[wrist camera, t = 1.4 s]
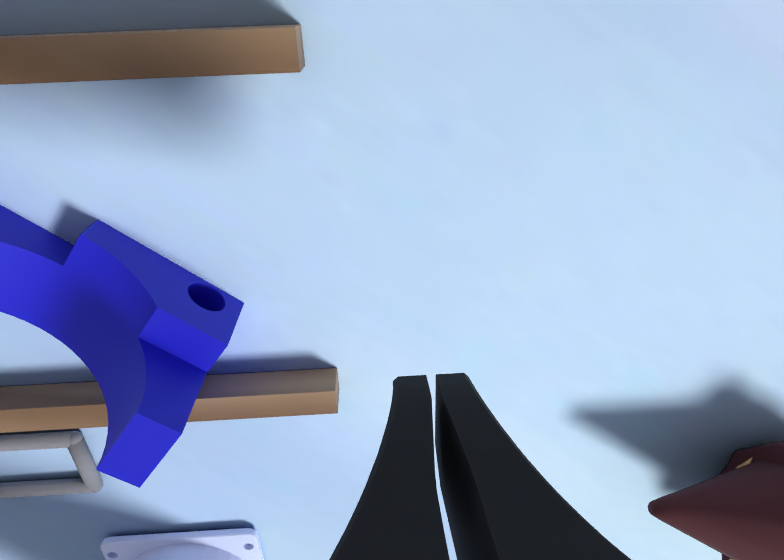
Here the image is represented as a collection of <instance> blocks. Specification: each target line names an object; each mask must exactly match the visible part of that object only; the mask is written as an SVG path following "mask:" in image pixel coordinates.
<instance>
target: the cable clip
mask: <svg viewBox="0 0 784 560" xmlns="http://www.w3.org/2000/svg"><path fill="white" fill-rule="evenodd" d="M243 304H244V303H243V302H241V301H240V300H238V299H236V298H234V297H233V296H231V295H229V294H227V293H226V292H224V291H222V290H220V289H219V288H217V287H215V286H213V285H212V284H210V283H208V282H206V281H205V280H203V279H201V278H199V277H198V276H196V275H194V274H193V273H191V272H189V271H187V270H186V269H184V268H182V267H180V266H179V265H177V264H175V263H173V262H172V261H170V260H168V259H166V258H165V257H163V256H161V255H159V254H158V253H156V252H154V251H152V250H151V249H149V248H147V247H145V246H144V245H142V244H140V243H138V242H137V241H135V240H133V239H131V238H130V237H128V236H126V235H124V234H123V233H121V232H119V231H117V230H116V229H114V228H112V227H110V226H109V225H107V224H105V223H103V222H102V221H100V220H97V221H95V222H94V223H93V224H92V225H91V226H90V227H89V228H87V229H86V230H85V231H84V232H83V233H82V234H80V236H79V238H78V240H77V242H76V243H75V245H72V244H70V243H69V242H67V241H65V240H63V239H61V238H59V237H58V236H56V235H54V234H52V233H50V232H48V231H47V230H45V229H43V228H41V227H39V226H37V225H36V224H34V223H32V222H30V221H28V220H27V219H25V218H23V217H21V216H19V215H17V214H16V213H14V212H12V211H10V210H8V209H6V208H5V207H3V206H1V205H0V312H3V313H6V314H9V315H12V316H15V317H17V318H20V319H22V320H25V321H27V322H29V323H31V324H33V325H35V326H37V327H39V328H41V329H42V330H44V331H46V332H48V333H49V334H51V335H52V336H54V337H55V338H57V339H58V340H60V341H61V342H63V343H64V344H65V345H66V346H67V347H69V348H70V349H71V350H72V351H73V352H74V353H75V354H76V355H77V356H78V357H79V358H80V359H81V360H82V361H83V362H84V363H85V365H86V366H87V367H88V368H89V369H90V371H91V372H92V374H93V375H94V377H95V378H96V380H97V382H98V384H99V386H100V388H101V391H102V393H103V396H104V399H105V403H106V407H107V413H108V435H107V440H106V446H105V449H104V452H103V455H102V458H101V460H100V462H99V464H98V466H97V468H96V470H98V471H100V472H103V473H105V474H108V475H110V476H112V477H115V478H117V479H120V480H122V481H125V482H127V483H129V484H132V485H134V486H137V487H139V488H140V487H141V485H142V484H143V483H144V481H145V480H146V479H147V478H148V476H149V475H150V474H151V473H152V471H153V470H154V469H155V467H156V466H157V465H158V464H159V462H160V461H161V460H162V459H163V457H164V456H165V455H166V453H167V452H168V451H169V450H170V448H171V447H172V446H173V444H174V443H175V442H176V441H177V439H178V438H179V437H180V436H181V434H182V432H183V430H184V427H185V425H186V423H187V420H188V418H189V415H190V413H191V410H192V408H193V406H194V403H195V401H196V398H197V396H198V393H199V391H200V389H201V386H202V384H203V381H204V379H205V376H206V374H207V372H208V371H209V369H210V368H211V367H212V365H213V364H214V363H215V361H216V360H217V359H218V357H219V356H220V355H221V353H222V352H223V351H224V350H225V348H226V347H227V346H228V343H229V341H230V338H231V336H232V333H233V330H234V328H235V325H236V323H237V320H238V317H239V315H240V312H241V310H242V307H243Z"/></svg>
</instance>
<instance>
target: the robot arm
mask: <svg viewBox="0 0 784 560" xmlns="http://www.w3.org/2000/svg"><path fill="white" fill-rule="evenodd" d="M435 446H436V454H437V462H438V470H439V478H440V486H441V491H442V495H443V500H444V504H445V509H446V513H447V517H448V522H449V526H450V530H451V534H452V539H453V543H454V547H455V552H456V556H457V560H631V559H630V558H628V557H627V556H626V555H625V554H624V553H622V552H621V551H620V550H619V549H618V548H616V547H615V546H614V545H613V544H612V543H610V542H609V541H608V540H607V539H606V538H605V537H603V536H602V535H601V534H600V533H599V532H598V531H597V530H596V529H595V528H594V527H593V526H592V525H590V524H589V523H588V522H587V521H586V520H585V519H584V518H583V517H582V516H581V515H580V514H579V513H578V512H577V511H576V510H575V509H574V508H573V507H572V506H571V505H570V504H569V503H568V502H567V501H566V500H565V499H564V498H563V497H562V496H561V495H560V494H559V493H558V492H557V491H556V490H555V489H554V488H553V487H552V486H551V485H550V484H549V483H548V482H547V481H546V479H545V478H544V477H543V476H542V475H541V474H540V473H539V472H538V470H537V469H536V468H535V467H534V466H533V465H532V464H531V462H530V461H529V460H528V459H527V458H526V457H525V455H524V454H523V453H522V452H521V451H520V449H519V448H518V447H517V446H516V444H515V443H514V442H513V440H512V439H511V438H510V437H509V435H508V434H507V433H506V432H505V430H504V429H503V428H502V426H501V425H500V424H499V422H498V421H497V420H496V418H495V417H494V415H493V414H492V413H491V411H490V410H489V408H488V407H487V405H486V404H485V403H484V401H483V400H482V398H481V397H480V395H479V393H478V392H477V390H476V389H475V387H474V385H473V384H472V382H471V380H470V379H469V377H468V376H467V375H466V374H465V373H454V374H436V411H435ZM100 549H101V551H102V554H103V556H104V558H105V560H264V557H263V553H262V549H261V545H260V541H259V537H258V533H257V532H256V531H255V530H254V529H251V528H239V529H223V530H208V531H192V532H176V533H160V534H145V535H129V536H113V537H107V538H105V539H104V540H103V541H102V543H101V546H100ZM329 560H449V555H448V550H447V544H446V539H445V534H444V529H443V523H442V517H441V512H440V506H439V501H438V495H437V489H436V479H435V465H434V443H433V420H432V399H431V393H430V389H429V385H428V381H427V377H426V375H418V376H401V377H397V378H396V379H395V380H394V381H393V396H392V403H391V408H390V413H389V417H388V422H387V425H386V429H385V432H384V435H383V439H382V442H381V445H380V449H379V452H378V455H377V457H376V460H375V463H374V465H373V468H372V470H371V473H370V476H369V478H368V481H367V484H366V486H365V488H364V491H363V493H362V495H361V498H360V500H359V502H358V504H357V507H356V509H355V511H354V513H353V515H352V517H351V519H350V521H349V523H348V525H347V527H346V529H345V531H344V533H343V535H342V537H341V539H340V541H339V543H338V545H337V546H336V548H335V550H334V552H333V554H332V556H331V558H330V559H329Z"/></svg>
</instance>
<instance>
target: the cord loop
mask: <svg viewBox="0 0 784 560" xmlns="http://www.w3.org/2000/svg"><path fill="white" fill-rule="evenodd" d="M52 448H68V450H69V452H70V454H71V456H72V458H73V460H74V462H75V465H76V467H77V469H78V471H79V473H80V475H81V478H71V479H54V480H38V481H21V482H5V483H0V498H16V497H32V496H48V495H65V494H81V493H95V492H98V491H99V490H101V488H102V487H103V481H102V478H101V476H100V474H99V471H98V470H96V468H97V467H96V465H95V462H94V460H93V458H92V455H91V453H90V451H89V449H88V446H87V444H86V442H85V439H84V437H83V435H82V433H80V432H79V431H66V432H48V433H31V434H14V435H0V452H1V451H18V450H35V449H52Z"/></svg>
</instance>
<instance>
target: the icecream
mask: <svg viewBox="0 0 784 560" xmlns="http://www.w3.org/2000/svg"><path fill="white" fill-rule="evenodd" d="M648 510H649V512H650V514H651V515H653V516H654V517H656V518H658V519H659V520H661V521H663V522H665V523H667V524H668V525H670V526H672V527H674V528H676V529H678V530H680V531H681V532H683V533H685V534H687V535H689V536H691V537H693V538H694V539H696V540H698V541H700V542H702V543H704V544H705V545H707V546H709V547H711V548H713V549H715V550H717V551H718V552H720V553H722V560H784V441H778V442H771V443H767V444H763V445H759V446H755V447H749V448H744V449H739V450H736V451H735V452H734V454H733V456H732V458H731V459H730V461H729V463H728V464H727V466H726V467H725V468H724V469H723V471H722V472H721V473H720V474H719V476H716V477H714V478H711V479H709V480H706V481H704V482H701V483H699V484H696V485H693V486H691V487H688V488H686V489H683V490H680V491H677V492H674V493H671V494H669V495H666V496H663V497H660V498H658V499H656V500H653V501H651V502H650V503H649V505H648Z"/></svg>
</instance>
